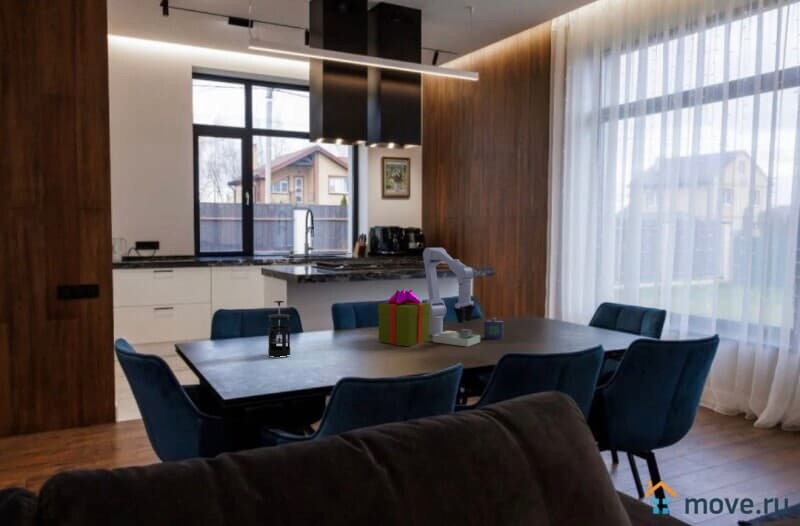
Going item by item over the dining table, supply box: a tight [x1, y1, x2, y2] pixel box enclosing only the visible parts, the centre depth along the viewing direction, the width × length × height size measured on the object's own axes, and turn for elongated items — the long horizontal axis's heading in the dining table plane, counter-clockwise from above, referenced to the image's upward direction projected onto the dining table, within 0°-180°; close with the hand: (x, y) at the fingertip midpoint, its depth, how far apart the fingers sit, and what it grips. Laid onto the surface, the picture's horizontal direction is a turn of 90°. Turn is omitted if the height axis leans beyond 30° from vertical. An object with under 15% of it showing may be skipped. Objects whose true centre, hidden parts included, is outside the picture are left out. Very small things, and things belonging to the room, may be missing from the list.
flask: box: [483, 317, 504, 340], centre depth 280 cm, size 9×3×11 cm, turn 88°
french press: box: [267, 300, 291, 357], centre depth 239 cm, size 12×9×23 cm
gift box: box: [377, 288, 430, 347], centre depth 270 cm, size 21×21×25 cm
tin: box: [458, 328, 473, 339], centre depth 267 cm, size 5×5×6 cm
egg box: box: [439, 330, 458, 338], centre depth 272 cm, size 5×8×4 cm, turn 146°
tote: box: [432, 332, 482, 347], centre depth 270 cm, size 18×13×4 cm
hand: (464, 321), depth 270 cm, fingers open, 7 cm apart
